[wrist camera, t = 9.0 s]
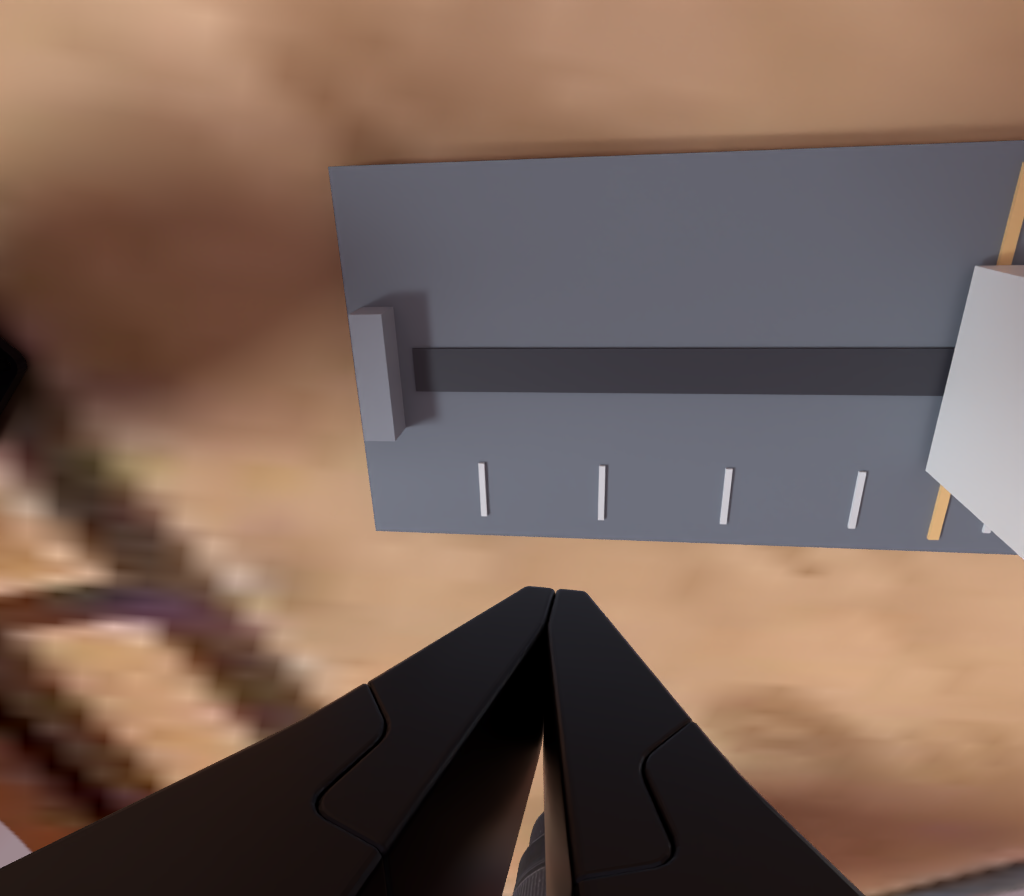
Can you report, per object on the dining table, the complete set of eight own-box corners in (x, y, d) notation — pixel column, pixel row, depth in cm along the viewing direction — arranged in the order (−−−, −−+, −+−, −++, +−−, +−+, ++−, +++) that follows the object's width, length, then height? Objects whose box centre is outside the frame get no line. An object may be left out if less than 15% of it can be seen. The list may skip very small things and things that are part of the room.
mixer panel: (384, 517, 24) (364, 548, 22) (340, 167, 19) (310, 166, 17) (1094, 541, 21) (1147, 580, 19) (1247, 132, 16) (1339, 126, 14)
